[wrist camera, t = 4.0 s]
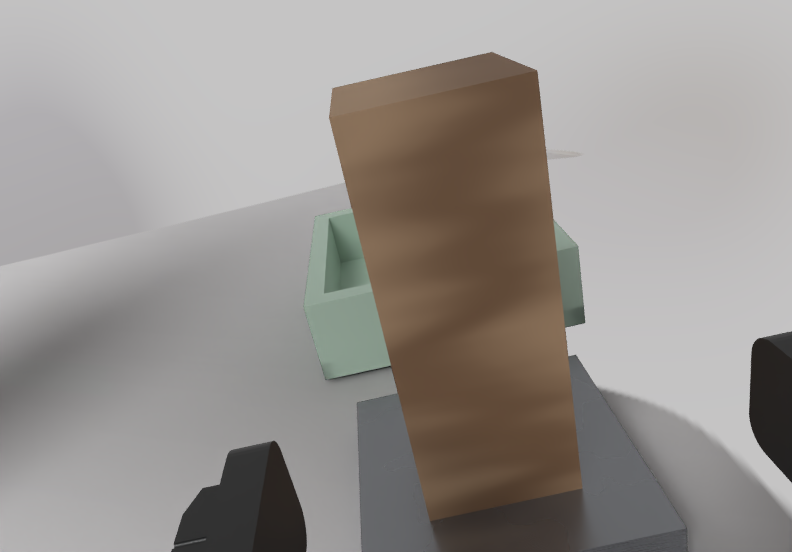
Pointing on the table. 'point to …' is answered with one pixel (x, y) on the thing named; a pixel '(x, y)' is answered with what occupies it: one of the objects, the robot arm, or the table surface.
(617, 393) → the table surface
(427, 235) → the block
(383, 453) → the mount plate
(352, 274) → the tray
